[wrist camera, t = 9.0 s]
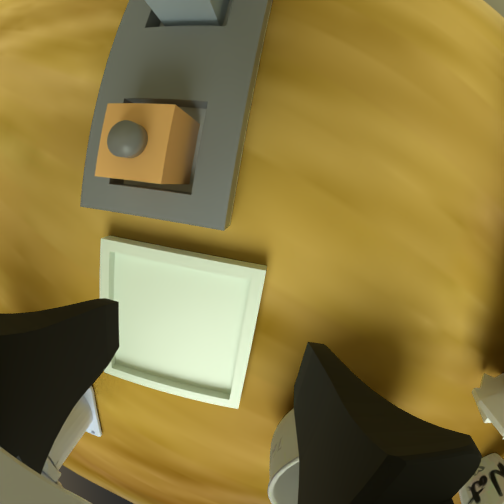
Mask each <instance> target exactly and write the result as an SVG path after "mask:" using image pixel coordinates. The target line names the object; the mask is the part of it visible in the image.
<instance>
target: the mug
mask: <svg viewBox="0 0 504 504" xmlns="http://www.w3.org/2000/svg"><path fill="white" fill-rule="evenodd" d="M459 495H460V499H461V504H504V460H503V459H502V458H501V457H500V456H499V455H498V454H496V453H492V454H489V455H487V456H485V457H483V458H481V463H480V465H479V467H478V469H477V471H476V472H475V474H474V475H473V476H472V477H471V478H470V480H469V481H468V482H467V483H466V484H465V485H464V486H463V487H462V488H461V489H460V490H459Z"/></svg>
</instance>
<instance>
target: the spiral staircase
mask: <svg viewBox="0 0 504 504" xmlns="http://www.w3.org/2000/svg"><path fill="white" fill-rule="evenodd" d="M472 394H473V397H474V399H475V401H476V404H477V406H478V409H479V411H480V414H481V416H482V419H483V421H484V423H492V424H493V425H494V426H495V427H496V429H497V430H498V431H499V433H500V434H501V435H502V436H503V439H504V373H503V374H501V375H499V376H497V377H495V378H494V377H492V376H490V375H487V374H485V373H484V375H483V377H482V380H481V384H480V388H474V389H473V391H472Z"/></svg>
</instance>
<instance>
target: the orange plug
mask: <svg viewBox="0 0 504 504" xmlns="http://www.w3.org/2000/svg"><path fill="white" fill-rule="evenodd" d="M199 127H200V124H199V123H198V122H197V121H196V120H194V119H193V118H192V117H191V116H189V115H188V114H187V113H186V112H184V111H183V110H182V109H181V108H179V107H178V106H177V105H174V104H149V103H108V104H107V109H106V113H105V118H104V123H103V128H102V133H101V138H100V144H99V150H98V156H97V163H96V170H95V176H97V177H106V178H115V179H124V180H132V181H141V182H148V183H156V184H189V183H190V177H191V171H192V165H193V159H194V153H195V148H196V142H197V137H198V132H199Z"/></svg>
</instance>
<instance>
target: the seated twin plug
mask: <svg viewBox="0 0 504 504" xmlns="http://www.w3.org/2000/svg"><path fill="white" fill-rule="evenodd" d="M145 1H146V3H147V4H148V5H149V7H150V8H151V9H152V10H153V12H154V13H155V14H156V15H157V17H158V18H159V19H160V21H161V22H162V23H163V25H164V26H194V25H198V26H222V25H223V22H224V18H225V15H226V11H227V8H228V4H229V1H230V0H145Z"/></svg>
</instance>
